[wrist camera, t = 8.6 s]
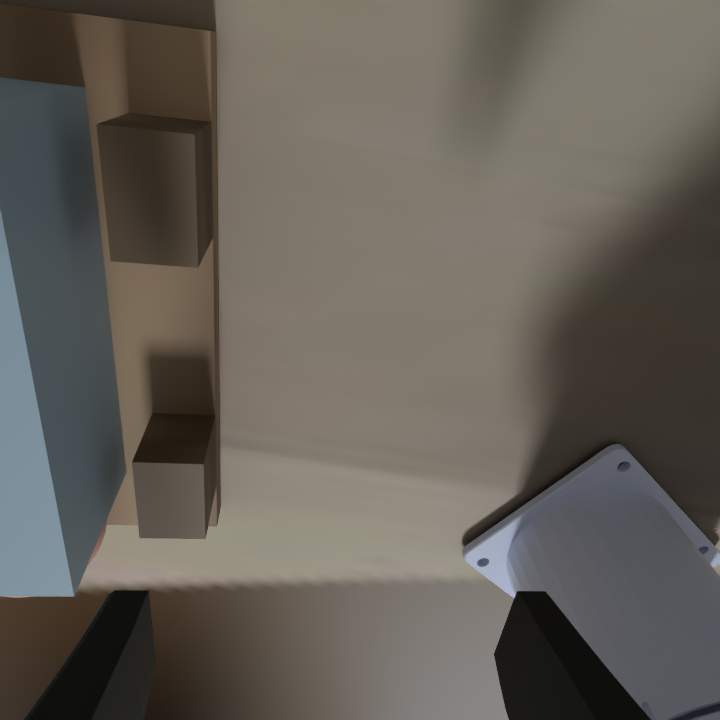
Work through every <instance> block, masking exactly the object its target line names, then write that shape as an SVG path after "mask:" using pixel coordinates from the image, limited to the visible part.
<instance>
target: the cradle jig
mask: <svg viewBox="0 0 720 720" xmlns="http://www.w3.org/2000/svg"><path fill="white" fill-rule="evenodd" d="M0 77H1V78H10V79H18V80H27V81H35V82H44V83H52V84H61V85H69V86H78V87H85V89H86V99H87V108H88V117H89V127H90V136H91V145H92V155H93V164H94V173H95V183H96V192H97V201H98V211H99V220H100V229H101V239H102V248H103V257H104V267H105V276H106V285H107V294H108V304H109V313H110V322H111V332H112V341H113V350H114V360H115V369H116V378H117V388H118V397H119V406H120V416H121V425H122V434H123V444H124V453H125V462H126V472H127V473H126V475H125V477H124V480H123V482H122V485H121V487H120V489H119V492H118V494H117V496H116V499H115V501H114V503H113V506H112V508H111V510H110V513H109V515H108V518H107V523H106V525H138V527H139V536H140V538H180V539H206V534H207V529H208V526H217V523H218V518H219V513H220V400H219V293H218V185H217V77H216V32H213V31H208V30H200V29H193V28H185V27H177V26H170V25H162V24H154V23H147V22H139V21H131V20H124V19H116V18H108V17H101V16H93V15H86V14H78V13H70V12H63V11H55V10H47V9H40V8H32V7H24V6H17V5H9V4H1V3H0Z"/></svg>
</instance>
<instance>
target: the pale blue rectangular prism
mask: <svg viewBox="0 0 720 720" xmlns="http://www.w3.org/2000/svg"><path fill="white" fill-rule="evenodd" d="M126 473H127V472H126V462H125V453H124V444H123V434H122V425H121V416H120V406H119V397H118V388H117V378H116V369H115V360H114V350H113V341H112V332H111V322H110V313H109V304H108V294H107V285H106V276H105V267H104V257H103V248H102V239H101V229H100V220H99V211H98V201H97V192H96V183H95V173H94V164H93V155H92V145H91V136H90V127H89V117H88V108H87V99H86V89H85V87H78V86H69V85H61V84H52V83H44V82H35V81H27V80H18V79H10V78H1V77H0V596H5V597H16V598H19V597H30V596H75V593H76V591H77V588H78V586H79V584H80V581H81V579H82V577H83V574H84V572H85V570H86V567H87V566H88V564H89V563H90V562H91V561H92V559H93V558H94V556H95V555H96V553H97V551H98V550H99V548H100V546H101V543H102V540H103V538H104V534H105V530H106V523H107V518H108V515H109V513H110V510H111V508H112V506H113V503H114V501H115V499H116V496H117V494H118V492H119V489H120V487H121V485H122V482H123V480H124V477H125V475H126Z"/></svg>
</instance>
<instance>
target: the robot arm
mask: <svg viewBox="0 0 720 720" xmlns="http://www.w3.org/2000/svg"><path fill="white" fill-rule="evenodd" d="M622 462H624V463H623V464H621V465H619V464H620V463H622ZM462 553H463V557H464V560H465V561H466V563H468V564H469V565H470V566H472V567H473V568H474V569H476V570H477V571H478V572H480V573H481V574H482V575H484V576H485V577H486V578H488V579H489V580H490V581H492V582H493V583H495V584H496V585H497V586H498V587H500V588H501V589H502V590H504V591H505V592H506V593H508V594H509V595H511V596H512V597H513V598H514V601H513V604H512V606H511V609H510V612H509V615H508V617H507V621H506V623H505V626H504V628H503V631H502V634H501V637H500V639H499V642H498V645H497V648H496V650H495V653H494V656H495V661H496V666H497V671H498V676H499V681H500V685H501V690H502V694H503V699H504V703H505V708H506V712H507V715H508V718H509V720H720V576H719V575H718V574H717V572H716V571H715V570H714V569H713V567H715V566H717V565H718V564H719V563H720V552H719V550H718V549H717V548H716V547H715V546H714V545H713V544H712V543H711V541H710V540H709V539H708V538H707V537H706V536H705V535H704V534H703V533H702V532H701V530H700V529H699V528H698V527H697V526H696V525H695V524H694V523H693V522H692V521H691V519H690V518H689V517H688V516H687V515H686V514H685V513H684V512H683V511H682V510H681V509H680V507H679V506H678V505H677V504H676V503H675V502H674V501H673V500H672V499H671V498H670V496H669V495H668V494H667V493H666V492H665V491H664V490H663V489H662V488H661V487H660V485H659V484H658V483H657V482H656V481H655V480H654V479H653V478H652V477H651V476H650V474H649V473H648V472H647V471H646V470H645V469H644V468H643V467H642V466H641V465H640V464H639V462H638V461H637V460H636V459H635V458H634V457H633V456H632V455H631V454H630V453H629V451H628V450H627V449H626V448H625V447H624V446H622V445H620V444H614V445H610V446H608V447H606V448H605V449H604V450H602V451H601V452H599V453H598V454H596V455H595V456H594V457H592V458H591V459H589V460H588V461H586V462H585V463H583V464H582V465H581V466H579V467H578V468H576V469H575V470H573V471H572V472H571V473H569V474H568V475H566V476H565V477H563V478H562V479H561V480H559V481H558V482H556V483H555V484H553V485H552V486H551V487H549V488H548V489H546V490H545V491H543V492H542V493H540V494H539V495H538V496H536V497H535V498H533V499H532V500H530V501H529V502H528V503H526V504H525V505H523V506H522V507H520V508H519V509H518V510H516V511H515V512H513V513H512V514H510V515H509V516H508V517H506V518H505V519H503V520H502V521H500V522H499V523H497V524H496V525H495V526H493V527H492V528H490V529H489V530H487V531H486V532H485V533H483V534H482V535H480V536H479V537H477V538H476V539H475V540H473V541H472V542H470V543H469V544H467V545H466V546H465V547H464V548H463V551H462ZM482 558H483V559H482ZM154 664H155V649H154V639H153V629H152V619H151V609H150V599H149V591H126V590H115V591H113V592H112V593H110V594H109V595H108V597H107V598H106V600H105V602H104V604H103V605H102V607H101V608H100V610H99V612H98V613H97V615H96V617H95V618H94V620H93V621H92V623H91V625H90V626H89V628H88V629H87V631H86V632H85V634H84V635H83V637H82V638H81V640H80V641H79V643H78V644H77V646H76V647H75V649H74V650H73V652H72V653H71V655H70V656H69V658H68V659H67V661H66V662H65V663H64V665H63V666H62V668H61V669H60V671H59V672H58V673H57V675H56V676H55V678H54V679H53V680H52V682H51V683H50V684H49V686H48V687H47V689H46V690H45V691H44V693H43V694H42V696H41V697H40V698H39V700H38V701H37V703H36V704H35V705H34V707H33V708H32V709H31V711H30V712H29V713H28V715H27V716H26V717H25V719H24V720H144V716H145V711H146V705H147V701H148V696H149V691H150V686H151V680H152V675H153V670H154Z"/></svg>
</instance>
